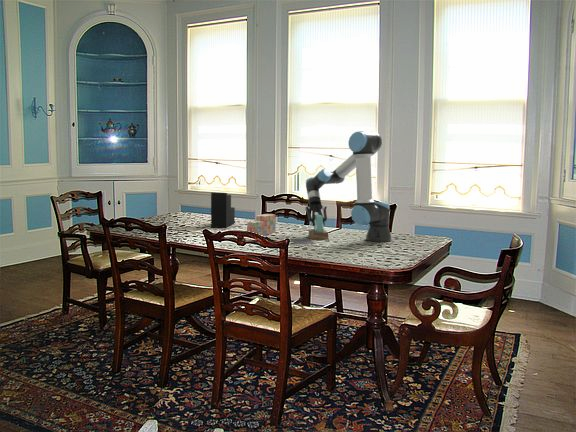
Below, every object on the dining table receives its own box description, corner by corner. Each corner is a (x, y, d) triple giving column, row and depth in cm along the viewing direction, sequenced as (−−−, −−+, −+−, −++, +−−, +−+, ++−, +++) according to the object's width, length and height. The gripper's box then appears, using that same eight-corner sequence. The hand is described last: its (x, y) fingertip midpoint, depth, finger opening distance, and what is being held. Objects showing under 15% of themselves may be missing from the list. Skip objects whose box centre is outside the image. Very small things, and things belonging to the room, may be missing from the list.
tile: (313, 232, 358) (314, 214, 357) (319, 232, 359) (319, 214, 357) (316, 234, 350) (317, 216, 349) (322, 234, 351) (322, 216, 349)
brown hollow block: (307, 236, 360) (308, 229, 360) (323, 236, 362) (323, 229, 361) (312, 240, 347) (312, 232, 347) (328, 240, 349) (329, 232, 349)
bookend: (220, 222, 411) (220, 189, 408) (235, 223, 409) (235, 190, 406) (210, 227, 388) (210, 192, 385) (226, 228, 386) (226, 193, 383)
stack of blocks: (254, 238, 353) (255, 217, 351) (246, 236, 356) (246, 216, 355) (275, 233, 370) (275, 214, 369) (267, 232, 374) (267, 213, 372)
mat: (289, 239, 348) (289, 239, 348) (309, 239, 350) (309, 238, 350) (294, 244, 333) (294, 243, 333) (315, 244, 335) (315, 243, 335)
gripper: (326, 203, 369) (331, 233, 355) (300, 203, 366) (305, 233, 352) (328, 195, 363) (334, 226, 349) (302, 195, 360) (307, 226, 346)
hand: (319, 230), depth 350 cm, fingers closed on tile, 3 cm apart
